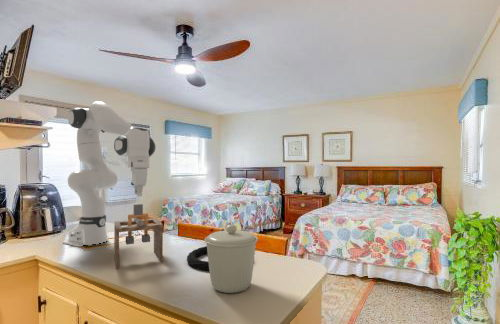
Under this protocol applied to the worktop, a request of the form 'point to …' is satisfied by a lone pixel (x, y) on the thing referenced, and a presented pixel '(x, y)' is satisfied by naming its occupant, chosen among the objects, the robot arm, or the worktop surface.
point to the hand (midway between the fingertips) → (138, 195)
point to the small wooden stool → (137, 221)
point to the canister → (231, 259)
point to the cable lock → (195, 262)
